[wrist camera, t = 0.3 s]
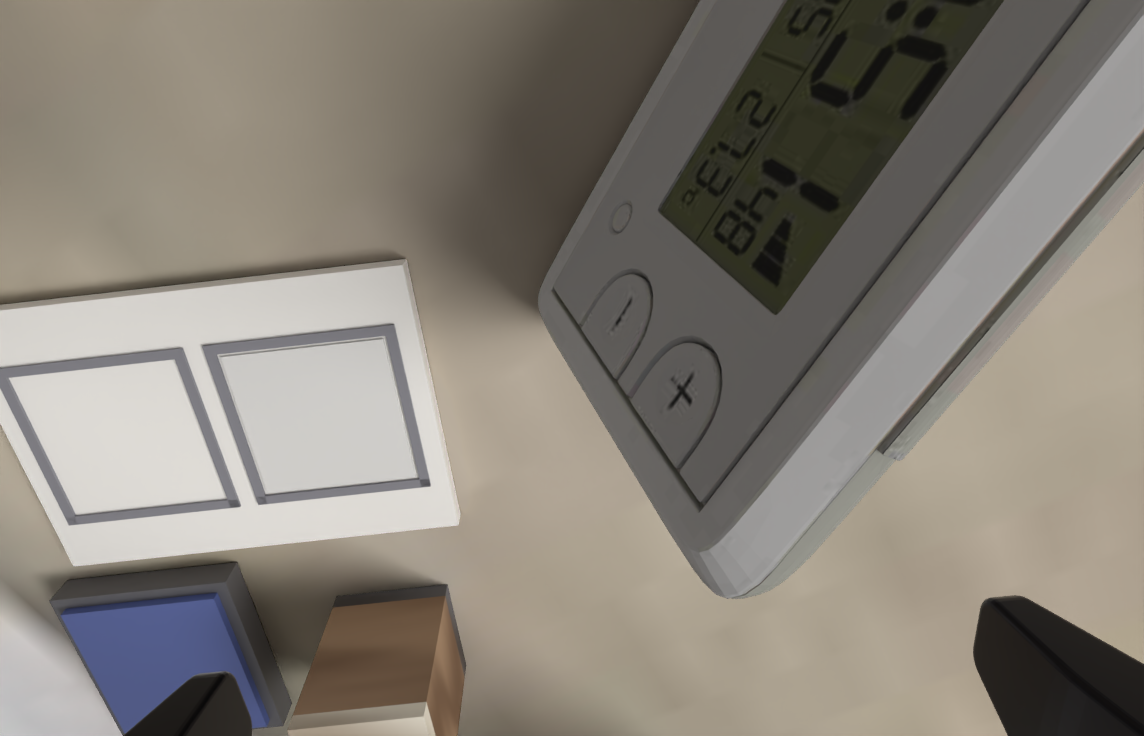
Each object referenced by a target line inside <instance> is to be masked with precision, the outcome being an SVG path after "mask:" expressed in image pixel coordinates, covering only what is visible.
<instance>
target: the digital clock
mask: <svg viewBox="0 0 1144 736" xmlns="http://www.w3.org/2000/svg"><path fill="white" fill-rule="evenodd" d="M1143 182H1144V0H700V2H699V3H698V5H697V7H696V9H695V10H694V12H693V14H692V16H691V17H690V19H689V21H688V23H687V25H686V26H685V28H684V30H683V32H682V33H681V35H680V37H679V39H678V40H677V42H676V44H675V46H674V48H673V49H672V51H671V53H670V55H669V56H668V58H667V60H666V62H665V63H664V65H663V67H662V69H661V71H660V72H659V74H658V76H657V78H656V79H655V81H654V83H653V85H652V87H651V88H650V90H649V92H648V94H647V95H646V97H645V99H644V101H643V102H642V104H641V106H640V108H639V110H638V111H637V113H636V115H635V117H634V118H633V120H632V122H631V124H630V125H629V127H628V129H627V131H626V133H625V134H624V136H623V138H622V140H621V141H620V143H619V145H618V147H617V148H616V150H615V152H614V154H613V156H612V157H611V159H610V161H609V163H608V164H607V166H606V168H605V170H604V171H603V173H602V175H601V177H600V179H599V180H598V182H597V184H596V186H595V187H594V189H593V191H592V193H591V194H590V196H589V198H588V200H587V202H586V203H585V205H584V207H583V209H582V210H581V212H580V214H579V216H578V218H577V219H576V221H575V223H574V225H573V227H572V228H571V230H570V232H569V234H568V236H567V237H566V239H565V241H564V243H563V245H562V246H561V248H560V250H559V252H558V254H557V256H556V258H555V259H554V261H553V263H552V265H551V267H550V269H549V271H548V273H547V275H546V277H545V279H544V281H543V283H542V285H541V288H540V291H539V295H538V307H539V312H540V314H541V317H542V319H543V321H544V323H545V326H546V328H547V330H548V332H549V333H550V335H551V337H552V339H553V341H554V343H555V344H556V346H557V348H558V349H559V351H560V353H561V354H562V356H563V357H564V359H565V361H566V362H567V364H568V366H569V367H570V369H571V371H572V372H573V374H574V376H575V377H576V379H577V381H578V382H579V384H580V386H581V387H582V389H583V391H584V392H585V394H586V396H587V397H588V399H589V400H590V402H591V404H592V405H593V407H594V409H595V410H596V412H597V414H598V415H599V417H600V419H601V420H602V422H603V424H604V425H605V427H606V429H607V430H608V432H609V434H610V435H611V437H612V438H613V440H614V442H615V443H616V445H617V447H618V448H619V450H620V452H621V453H622V455H623V457H624V458H625V460H626V462H627V463H628V465H629V467H630V468H631V470H632V472H633V473H634V475H635V477H636V478H637V480H638V481H639V483H640V485H641V486H642V488H643V490H644V491H645V493H646V495H647V496H648V498H649V500H650V501H651V503H652V505H653V506H654V508H655V510H656V511H657V513H658V515H659V516H660V518H661V520H662V521H663V523H664V524H665V526H666V528H667V529H668V531H669V533H670V534H671V536H672V537H673V539H674V540H675V542H676V543H677V545H678V547H679V548H680V550H681V551H682V553H683V554H684V556H685V557H686V559H687V560H688V562H689V563H690V565H691V567H692V568H693V569H694V571H695V572H696V573H697V575H698V576H699V577H700V579H701V580H702V581H703V583H705V584H706V585H707V586H708V587H709V588H710V589H711V590H712V591H713V592H714V593H715V594H716V595H719V596H721V597H724V598H727V599H728V598H732V599H741V598H747V597H751V596H756V595H759V594H762V593H764V592H767V591H770V590H771V589H773V588H774V587H776V586H777V585H779V584H780V583H782V582H783V581H785V580H786V579H787V578H788V577H789V576H790V575H792V574H793V573H794V572H795V571H796V570H797V569H798V568H799V567H800V566H801V565H802V564H803V563H804V562H805V561H806V560H807V559H809V558H810V557H811V555H812V554H813V553H814V552H815V551H816V550H817V549H818V548H819V546H820V545H821V544H822V543H823V542H824V541H825V540H826V539H827V538H828V536H829V535H830V534H831V533H832V532H833V531H834V530H835V529H836V528H837V526H838V525H839V524H840V523H841V522H842V521H843V520H844V518H845V517H846V516H847V515H848V514H849V513H850V512H851V510H852V509H853V508H854V507H855V506H856V505H857V504H858V502H859V501H860V500H861V499H862V498H863V497H864V496H865V494H866V493H867V492H868V491H869V490H870V489H871V488H872V486H873V485H874V484H875V483H876V482H877V481H878V479H879V478H880V477H881V476H882V475H883V474H884V473H885V472H886V470H887V469H888V468H889V467H890V466H891V465H892V464H893V463H894V461H895V460H903V459H904V457H905V456H906V455H907V454H908V453H909V452H910V451H911V449H912V448H913V447H914V446H915V445H916V444H917V442H918V441H919V440H920V439H921V438H922V437H923V436H924V434H925V433H926V432H927V431H928V430H929V429H930V428H931V426H932V425H933V424H934V423H935V422H936V421H937V419H938V418H939V417H940V416H941V415H942V414H943V413H944V411H945V410H946V409H947V408H948V407H949V406H950V405H951V403H952V402H953V401H954V400H955V399H956V398H957V396H958V395H959V394H960V393H961V392H962V391H963V390H964V388H965V387H966V386H967V385H968V384H969V383H970V382H971V380H972V379H973V378H974V377H975V376H976V375H977V373H978V372H979V371H980V370H981V369H982V368H983V367H984V365H985V364H986V363H987V362H988V361H989V360H990V358H991V357H992V356H993V355H994V354H995V353H996V352H997V350H998V349H999V348H1000V347H1001V346H1002V345H1003V344H1004V342H1005V341H1006V340H1007V339H1008V338H1009V337H1010V335H1011V334H1012V333H1013V332H1014V331H1015V330H1016V329H1017V327H1018V326H1019V325H1020V324H1021V323H1022V322H1023V321H1024V319H1025V318H1026V317H1027V316H1028V315H1029V314H1030V312H1031V311H1032V310H1033V309H1034V308H1035V307H1036V306H1037V304H1038V303H1039V302H1040V301H1041V300H1042V299H1043V298H1044V296H1045V295H1046V294H1047V293H1048V292H1049V291H1050V289H1051V288H1052V287H1053V286H1054V285H1055V284H1056V283H1057V281H1058V280H1059V279H1060V278H1061V277H1062V276H1063V275H1064V273H1065V272H1066V271H1067V270H1068V269H1069V268H1070V266H1071V265H1072V264H1073V263H1074V262H1075V261H1076V260H1077V258H1078V257H1079V256H1080V255H1081V254H1082V253H1083V252H1084V250H1085V249H1086V248H1087V247H1088V246H1089V245H1090V243H1091V242H1092V241H1093V240H1094V239H1095V238H1096V237H1097V235H1098V234H1099V233H1100V232H1101V231H1102V230H1103V229H1104V227H1105V226H1106V225H1107V224H1108V223H1109V222H1110V220H1111V219H1112V218H1113V217H1114V216H1115V215H1116V214H1117V212H1118V211H1119V210H1120V209H1121V208H1122V207H1123V205H1124V204H1125V203H1126V202H1127V201H1128V200H1129V199H1130V197H1131V196H1132V195H1133V194H1134V193H1135V192H1136V191H1137V189H1138V188H1139V187H1140V186H1141V185H1142V184H1143Z"/></svg>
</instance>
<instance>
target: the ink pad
mask: <svg viewBox="0 0 1144 736" xmlns="http://www.w3.org/2000/svg"><path fill="white" fill-rule="evenodd" d="M50 603H51V605H52V607H53V609H54V611H55V612H56V614H57V616H58V618H59V620H60V622H61V623H62V625H63V627H64V629H65V631H66V633H67V634H68V636H69V638H70V640H71V642H72V644H73V645H74V647H75V649H76V651H77V653H78V655H79V656H80V658H81V660H82V662H83V664H84V666H85V667H86V669H87V671H88V673H89V675H90V677H91V678H92V680H93V682H94V684H95V686H96V688H97V689H98V691H99V693H100V695H101V697H102V699H103V700H104V702H105V704H106V706H107V708H108V710H109V711H110V713H111V715H112V717H113V719H114V721H115V722H116V724H117V726H118V728H119V730H120V731H121V733H122V735H124V734H125V733H126V732H128V731H129V730H130V729H131V728H132V727H133V726H135V725H136V724H137V723H138V722H139V721H140V720H142V719H143V718H144V717H145V716H146V715H147V714H149V713H150V712H151V711H152V710H153V709H154V708H156V707H157V706H158V705H159V704H160V703H161V702H163V701H164V700H165V699H166V698H167V697H168V696H169V695H171V694H172V693H173V692H174V691H175V690H176V689H178V688H179V687H180V686H181V685H182V684H183V683H185V682H186V681H187V680H188V679H190V678H191V677H192V676H194V675H197V674H200V673H210V672H220V671H227V672H230V673H231V674H233V675H234V677H235V679H236V681H237V683H238V686H239V688H240V691H241V693H242V696H243V698H244V701H245V703H246V706H247V708H248V711H249V714H250V716H251V721H252V729H258V728H268V727H278V726H283V725H284V723H285V720H286V718H287V715H288V712H289V710H290V707H291V704H292V702H291V700H290V697H289V695H288V692H287V690H286V687H285V684H284V682H283V679H282V677H281V674H280V672H279V669H278V666H277V664H276V661H275V659H274V656H273V653H272V651H271V648H270V646H269V643H268V641H267V638H266V635H265V633H264V630H263V628H262V625H261V623H260V620H259V617H258V615H257V612H256V610H255V607H254V604H253V602H252V599H251V597H250V594H249V592H248V589H247V586H246V584H245V581H244V579H243V576H242V574H241V571H240V568H239V566H238V563H237V562H234V563H225V564H216V565H206V566H197V567H188V568H178V569H169V570H160V571H150V572H141V573H132V574H122V575H113V576H104V577H94V578H85V579H75V580H67V581H66V582H65V584H64V585H63V586H62V587H61V588H60V589H59V590H58V592H57V593H56V594H55V595H54V596H53V597H52V598H51V600H50Z"/></svg>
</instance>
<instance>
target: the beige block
mask: <svg viewBox="0 0 1144 736" xmlns="http://www.w3.org/2000/svg"><path fill="white" fill-rule="evenodd" d="M465 671H466V662H465V658H464V654H463V649H462V645H461V641H460V636H459V632H458V628H457V624H456V619H455V615H454V611H453V606H452V602H451V598H450V593H449V589H448V585H437V586H428V587H418V588H409V589H400V590H390V591H381V592H371V593H362V594H352V595H343V596H337V597H336V600H335V603H334V606H333V608H332V611H331V614H330V616H329V619H328V622H327V624H326V627H325V630H324V632H323V635H322V638H321V641H320V643H319V646H318V649H317V651H316V654H315V657H314V659H313V662H312V665H311V668H310V670H309V673H308V676H307V678H306V681H305V684H304V686H303V689H302V692H301V694H300V697H299V700H298V703H297V705H296V708H295V711H294V713H293V716H292V719H291V721H290V724H289V727H288V729H287V731H288V734H289V736H457V734H458V726H459V718H460V710H461V702H462V694H463V686H464V678H465Z"/></svg>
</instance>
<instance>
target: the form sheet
mask: <svg viewBox="0 0 1144 736" xmlns="http://www.w3.org/2000/svg"><path fill="white" fill-rule="evenodd" d="M0 424H1V426H2V428H3V430H4V432H5V434H6V436H7V438H8V440H9V441H10V443H11V445H12V447H13V449H14V451H15V453H16V455H17V457H18V459H19V461H20V463H21V465H22V467H23V469H24V471H25V473H26V475H27V477H28V479H29V480H30V482H31V484H32V486H33V488H34V490H35V492H36V494H37V496H38V498H39V500H40V502H41V504H42V506H43V508H44V510H45V512H46V514H47V516H48V517H49V519H50V521H51V523H52V525H53V527H54V529H55V531H56V533H57V535H58V537H59V539H60V541H61V543H62V545H63V547H64V549H65V551H66V553H67V555H68V556H69V558H70V560H71V562H72V564H73V566H83V565H93V564H102V563H111V562H121V561H130V560H139V559H149V558H158V557H167V556H177V555H186V554H195V553H205V552H214V551H223V550H233V549H242V548H251V547H261V546H270V545H279V544H289V543H298V542H307V541H317V540H326V539H335V538H345V537H354V536H363V535H372V534H382V533H391V532H400V531H410V530H419V529H428V528H438V527H447V526H456V525H459V520H460V509H459V505H458V500H457V495H456V490H455V486H454V481H453V476H452V472H451V467H450V462H449V457H448V453H447V448H446V443H445V438H444V434H443V429H442V424H441V420H440V415H439V410H438V405H437V401H436V396H435V391H434V386H433V382H432V377H431V372H430V367H429V363H428V358H427V353H426V349H425V344H424V339H423V334H422V330H421V325H420V320H419V315H418V311H417V306H416V301H415V297H414V292H413V287H412V282H411V278H410V273H409V268H408V263H407V259H401V260H392V261H384V262H375V263H366V264H357V265H348V266H339V267H330V268H322V269H313V270H304V271H295V272H286V273H277V274H269V275H260V276H251V277H242V278H233V279H224V280H215V281H207V282H198V283H189V284H180V285H171V286H162V287H154V288H145V289H136V290H127V291H118V292H109V293H100V294H92V295H83V296H74V297H65V298H56V299H47V300H39V301H30V302H21V303H12V304H3V305H0Z"/></svg>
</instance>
